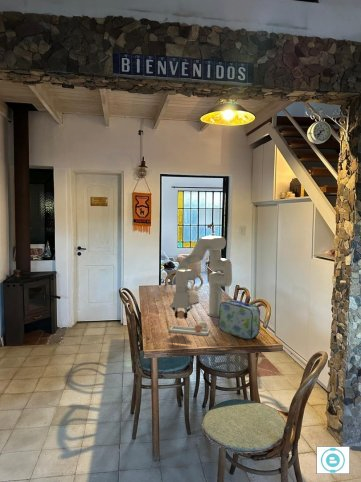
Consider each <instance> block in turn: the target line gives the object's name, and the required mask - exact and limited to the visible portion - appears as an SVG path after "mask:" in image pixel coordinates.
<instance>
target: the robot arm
mask: <svg viewBox="0 0 361 482" xmlns="http://www.w3.org/2000/svg"><path fill="white" fill-rule="evenodd" d="M226 245H227V240H226V238H225V237H223V236H216V235H205V236H203V237H200V238H198V240H197V241H196V243H195V245H194V247H193V250H192V251H191V253H190V254H188V255H186V257H184V258H182V259H181V260H180V262H179V264H178V266H177V268H176V269H175V290H174V292H173V297H172V302H171V303H170V305H169V307H170V308H171V309H172V310H173V312H174V317H175V319H179V318H178V316H177V313H178V312H179V310H178V309H184V318H183V319H184V320H187V318H188V313H189V311H190V310H192V309H193V308H194V307H193V304H190V296H189V292H188V290H190V288H191V287H189V286H188V283H189V282H188V281H195V280H196V279H197V278H198V275H199V273H198V271H197V269H195V268H191V267H189V266H190V265H193V264H196V263H199V262H202V261H203V259H204V257H205V255H206V253H207V251H208V254H209V268H210V270H212V271H213V272H211V273H209V274H208V285H209V287H208V288H209V292H208V293H209V299H208V301H209V303H208V307H209V308H208V311H207V312H206V315H207V316H210V317H214V318H215V317H217V318H219V308H220V304H221V303H222V302H223V289H222V287H231V285H232V282H233V269H232V268H233V266H232V261H231V260H230V259H228V258H222V252H221V250H223V249H224V248H225V247H226Z"/></svg>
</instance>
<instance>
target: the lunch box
mask: <svg viewBox="0 0 361 482" xmlns="http://www.w3.org/2000/svg"><path fill="white" fill-rule="evenodd" d="M260 318H261V309H260V308H259V306H256V305H254V304H252V303H251V304H250V303H247V302H243V301H241V300H236V299H231V298H230V299H228V300H224V301H222V303H221V304H220V308H219V317H218V327H219V330H220V331H222V332H225V333H228V334H230V335H232V336H234V337H238V338H241V339H244V340H252V339H254V338H257V337H258V335H259V333H260V330H261V321H260V320H261V319H260Z"/></svg>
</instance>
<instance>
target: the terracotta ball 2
mask: <svg viewBox="0 0 361 482" xmlns="http://www.w3.org/2000/svg"><path fill="white" fill-rule="evenodd" d="M194 329H195V331H196V332H201V331H202V326H201V325H200V323H197V324H195V326H194Z"/></svg>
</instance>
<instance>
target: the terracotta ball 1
mask: <svg viewBox="0 0 361 482" xmlns="http://www.w3.org/2000/svg"><path fill="white" fill-rule="evenodd" d="M184 313H185V310H178V313H177V316H178V318H177V319H180V320H181V319H184Z"/></svg>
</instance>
